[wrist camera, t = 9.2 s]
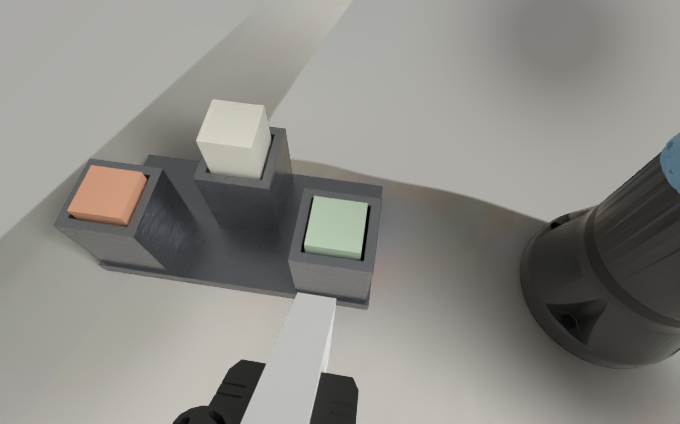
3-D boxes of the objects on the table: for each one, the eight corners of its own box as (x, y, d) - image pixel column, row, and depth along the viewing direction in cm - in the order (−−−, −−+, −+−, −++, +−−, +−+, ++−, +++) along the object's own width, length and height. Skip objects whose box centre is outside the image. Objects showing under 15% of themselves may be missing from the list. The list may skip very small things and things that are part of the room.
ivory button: (276, 165, 41) (264, 105, 33) (266, 202, 39) (251, 148, 31) (234, 159, 41) (212, 99, 34) (221, 196, 39) (195, 140, 32)
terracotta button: (176, 218, 41) (141, 172, 34) (160, 258, 39) (120, 218, 32) (134, 212, 42) (91, 165, 34) (117, 252, 40) (67, 210, 32)
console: (380, 193, 45) (391, 139, 37) (366, 309, 39) (376, 276, 31) (154, 162, 47) (115, 104, 38) (106, 270, 41) (47, 228, 32)
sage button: (361, 245, 40) (367, 203, 33) (355, 287, 38) (361, 253, 31) (317, 239, 41) (314, 195, 33) (309, 280, 38) (303, 244, 31)
